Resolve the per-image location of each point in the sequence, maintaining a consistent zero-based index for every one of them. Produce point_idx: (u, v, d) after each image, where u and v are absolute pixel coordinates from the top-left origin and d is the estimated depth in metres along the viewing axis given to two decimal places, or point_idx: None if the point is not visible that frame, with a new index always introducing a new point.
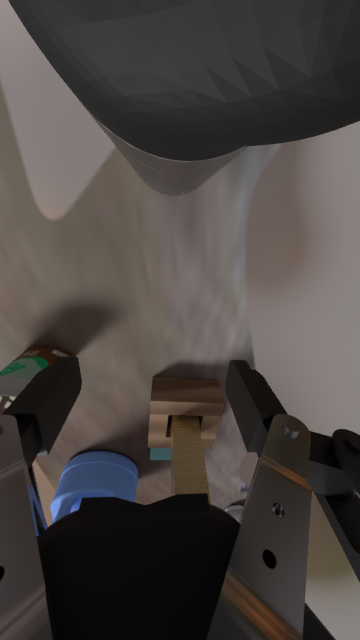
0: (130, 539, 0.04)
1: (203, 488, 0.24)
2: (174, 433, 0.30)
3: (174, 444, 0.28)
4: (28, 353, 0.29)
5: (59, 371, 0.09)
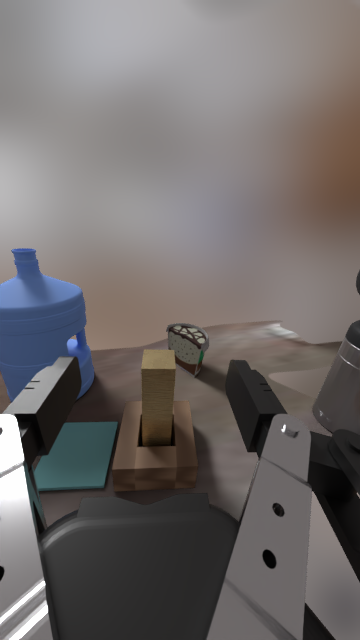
0: (130, 539, 0.04)
1: None
2: None
3: None
4: None
5: (59, 371, 0.09)
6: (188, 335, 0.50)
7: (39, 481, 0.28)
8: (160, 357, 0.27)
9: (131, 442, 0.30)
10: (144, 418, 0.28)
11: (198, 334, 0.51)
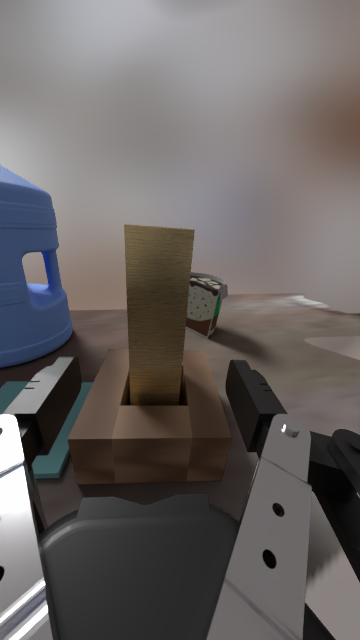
0: (130, 539, 0.04)
1: None
2: None
3: None
4: None
5: (59, 371, 0.09)
6: (199, 281, 0.37)
7: None
8: None
9: (111, 399, 0.17)
10: (133, 348, 0.15)
11: (212, 282, 0.39)
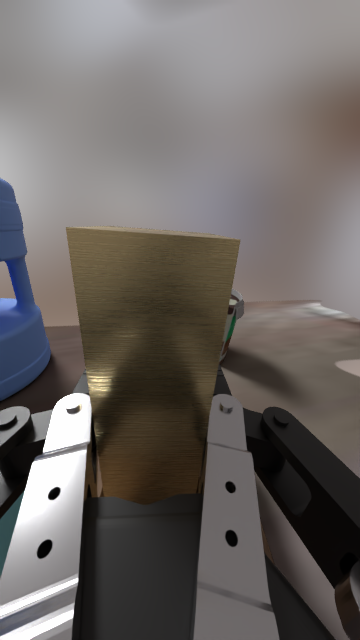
0: (130, 539, 0.04)
1: None
2: None
3: None
4: None
5: None
6: None
7: None
8: (164, 231, 0.07)
9: None
10: (108, 460, 0.08)
11: None
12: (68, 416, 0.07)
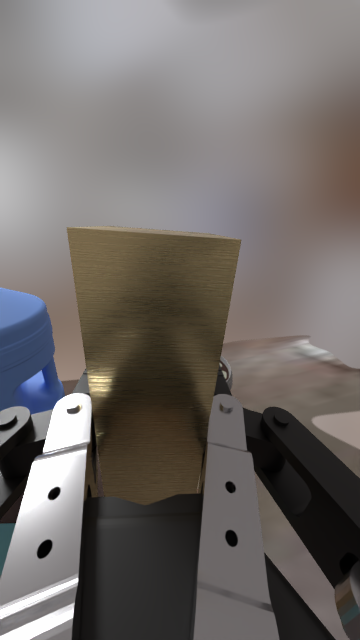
0: (130, 539, 0.04)
1: None
2: None
3: None
4: None
5: None
6: None
7: None
8: (165, 231, 0.07)
9: None
10: (109, 459, 0.08)
11: None
12: (68, 416, 0.07)
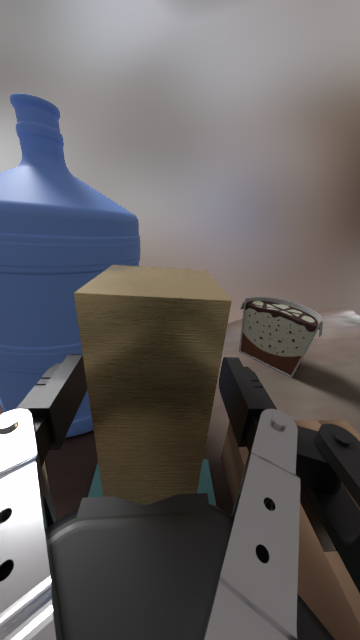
0: (130, 539, 0.04)
1: None
2: None
3: None
4: None
5: (69, 368, 0.09)
6: (283, 311, 0.32)
7: None
8: (163, 277, 0.07)
9: (303, 536, 0.12)
10: (110, 484, 0.09)
11: (295, 311, 0.33)
12: None
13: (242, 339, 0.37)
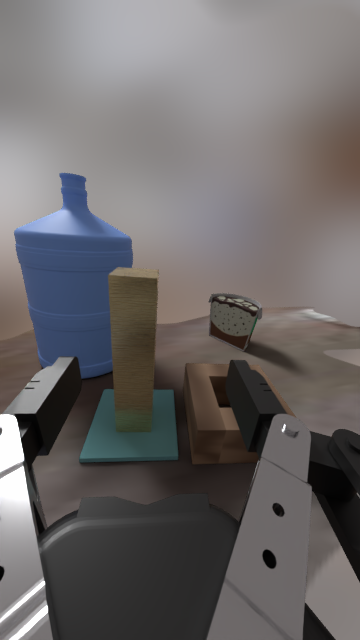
0: (130, 539, 0.04)
1: None
2: None
3: (155, 347, 0.24)
4: None
5: (59, 371, 0.09)
6: (237, 303, 0.44)
7: (94, 450, 0.22)
8: (138, 271, 0.19)
9: (210, 403, 0.23)
10: (116, 359, 0.20)
11: (247, 303, 0.46)
12: None
13: (210, 325, 0.49)
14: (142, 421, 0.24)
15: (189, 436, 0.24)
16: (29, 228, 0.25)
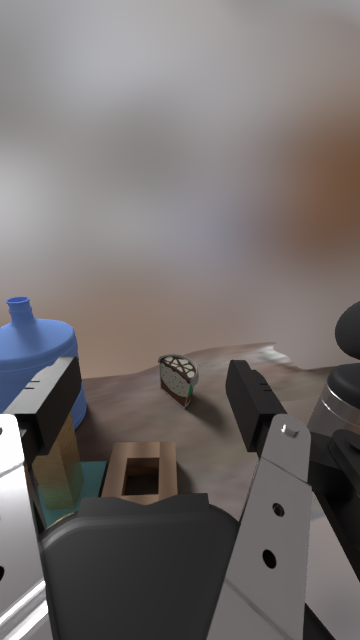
0: (130, 539, 0.04)
1: (61, 443, 0.27)
2: (78, 452, 0.32)
3: (76, 445, 0.32)
4: None
5: (59, 371, 0.09)
6: (178, 368, 0.51)
7: None
8: None
9: (116, 491, 0.31)
10: (36, 469, 0.28)
11: (188, 366, 0.52)
12: None
13: (161, 381, 0.57)
14: (66, 503, 0.31)
15: None
16: None
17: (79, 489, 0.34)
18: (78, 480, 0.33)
